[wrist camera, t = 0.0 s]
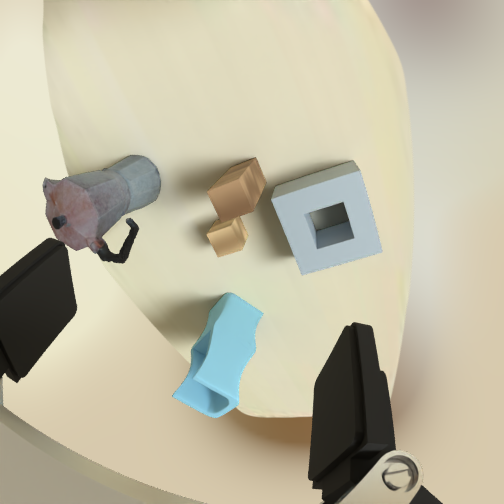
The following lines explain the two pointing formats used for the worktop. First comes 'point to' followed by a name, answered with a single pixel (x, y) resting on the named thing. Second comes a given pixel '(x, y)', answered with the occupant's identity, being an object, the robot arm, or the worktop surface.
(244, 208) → the walnut peg long
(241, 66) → the worktop surface
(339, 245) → the socket block
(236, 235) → the oak peg short
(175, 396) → the blue hollow-base tower
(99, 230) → the moka pot
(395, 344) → the worktop surface
